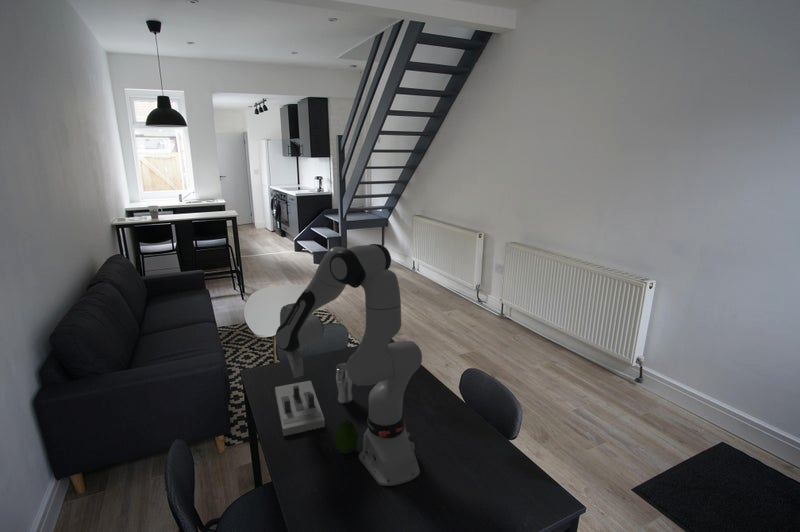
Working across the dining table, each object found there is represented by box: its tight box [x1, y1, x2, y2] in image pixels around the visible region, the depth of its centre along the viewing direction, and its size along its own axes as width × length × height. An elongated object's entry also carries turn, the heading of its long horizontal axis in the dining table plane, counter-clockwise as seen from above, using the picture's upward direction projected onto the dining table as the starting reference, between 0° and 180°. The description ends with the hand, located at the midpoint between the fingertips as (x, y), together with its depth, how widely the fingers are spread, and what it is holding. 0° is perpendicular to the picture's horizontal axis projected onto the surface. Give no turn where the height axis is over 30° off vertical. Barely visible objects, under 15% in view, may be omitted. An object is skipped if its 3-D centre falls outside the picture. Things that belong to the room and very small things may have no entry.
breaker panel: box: [274, 380, 326, 437], centre depth 166 cm, size 30×15×8 cm, turn 21°
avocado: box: [335, 419, 360, 455], centre depth 142 cm, size 8×8×12 cm
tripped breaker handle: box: [293, 386, 299, 398], centre depth 169 cm, size 2×2×4 cm
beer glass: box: [335, 362, 354, 404], centre depth 172 cm, size 7×7×15 cm
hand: (295, 376), depth 165 cm, fingers closed
